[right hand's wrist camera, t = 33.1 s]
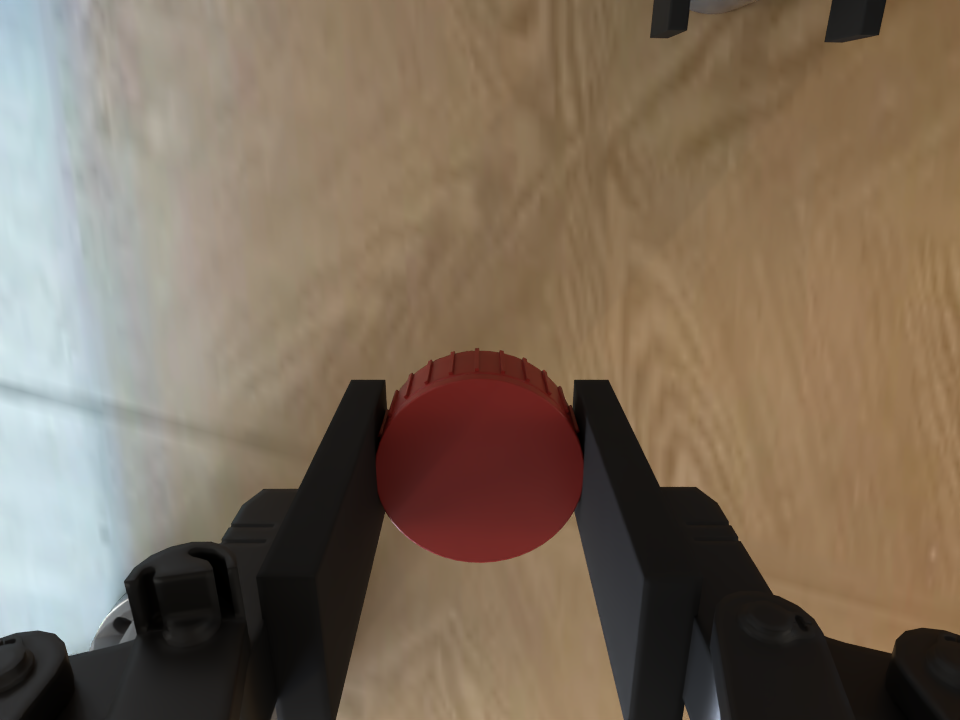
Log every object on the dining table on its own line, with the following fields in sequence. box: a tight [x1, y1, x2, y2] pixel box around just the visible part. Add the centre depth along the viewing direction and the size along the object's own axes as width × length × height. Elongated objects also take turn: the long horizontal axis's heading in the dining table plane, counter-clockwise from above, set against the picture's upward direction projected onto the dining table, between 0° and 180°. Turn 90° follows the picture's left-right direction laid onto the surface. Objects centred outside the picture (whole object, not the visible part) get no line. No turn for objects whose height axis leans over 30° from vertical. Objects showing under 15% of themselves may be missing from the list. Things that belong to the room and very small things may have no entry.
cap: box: [376, 348, 584, 563], centre depth 14 cm, size 4×4×2 cm
